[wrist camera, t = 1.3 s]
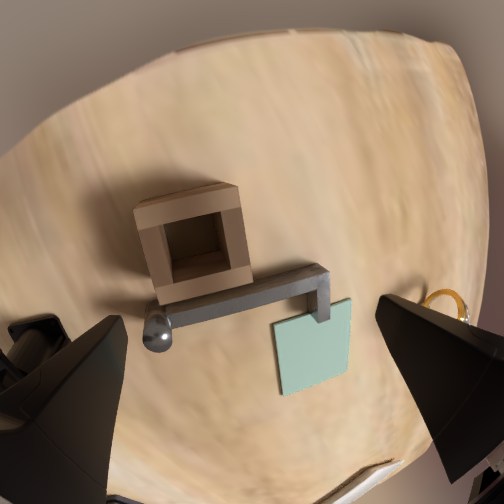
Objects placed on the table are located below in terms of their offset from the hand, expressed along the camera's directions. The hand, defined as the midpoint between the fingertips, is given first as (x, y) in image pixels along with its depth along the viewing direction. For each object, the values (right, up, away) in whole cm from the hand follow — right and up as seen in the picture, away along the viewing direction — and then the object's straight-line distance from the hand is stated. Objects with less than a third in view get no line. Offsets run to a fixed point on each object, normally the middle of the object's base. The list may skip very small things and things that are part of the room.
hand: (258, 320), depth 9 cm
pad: (+6, -8, +17) cm, 20 cm away
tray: (+27, -65, +43) cm, 82 cm away
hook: (-1, -2, +14) cm, 14 cm away
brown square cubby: (-5, +4, +11) cm, 12 cm away
